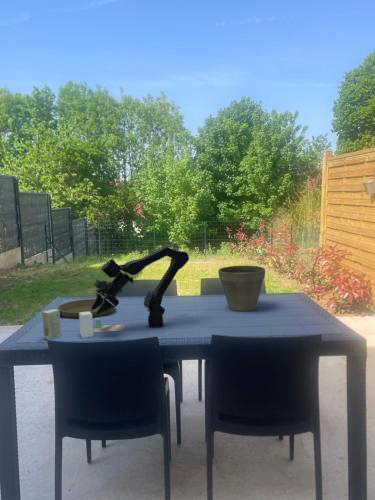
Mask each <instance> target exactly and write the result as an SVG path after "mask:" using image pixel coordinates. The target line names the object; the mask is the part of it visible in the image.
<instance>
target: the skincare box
mask: <svg viewBox="0 0 375 500" xmlns="http://www.w3.org/2000/svg"><path fill="white" fill-rule="evenodd" d="M60 314H61V313H60V312H59V310H58V308H57V309H55V308H52V309H49V310H45V311H42V325H43V335H44V337H43V338H44V339H45V340H51V339H55V338H58V337H61V336H62V327H61V316H60Z"/></svg>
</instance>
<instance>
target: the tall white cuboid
mask: <svg viewBox="0 0 375 500" xmlns="http://www.w3.org/2000/svg"><path fill="white" fill-rule="evenodd" d="M78 319H79V320H78V321H79V335H80V336H81V337H82V338H83V339H85V338H90V337H94V332H93V329H94V323H93V322H94V321H93V317H92V313H91V312H89V311H88V312H80V313H79V318H78Z"/></svg>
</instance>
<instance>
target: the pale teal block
mask: <svg viewBox="0 0 375 500" xmlns="http://www.w3.org/2000/svg"><path fill="white" fill-rule="evenodd" d="M95 326H96V328H101V327H102V318H101V317H95Z"/></svg>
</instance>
